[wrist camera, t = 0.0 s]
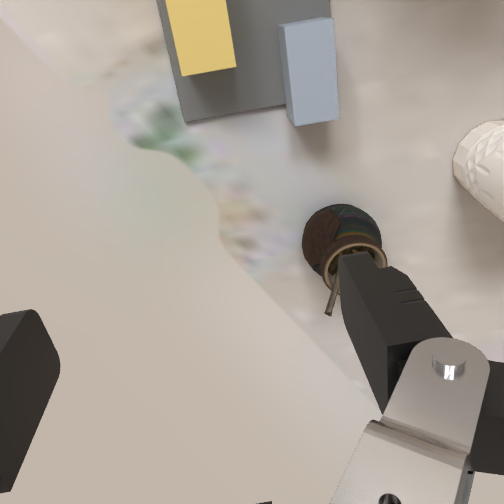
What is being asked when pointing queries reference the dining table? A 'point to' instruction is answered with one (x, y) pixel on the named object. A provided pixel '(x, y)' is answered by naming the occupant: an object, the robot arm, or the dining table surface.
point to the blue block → (309, 70)
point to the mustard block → (201, 35)
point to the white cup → (483, 165)
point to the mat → (242, 59)
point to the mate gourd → (339, 242)
